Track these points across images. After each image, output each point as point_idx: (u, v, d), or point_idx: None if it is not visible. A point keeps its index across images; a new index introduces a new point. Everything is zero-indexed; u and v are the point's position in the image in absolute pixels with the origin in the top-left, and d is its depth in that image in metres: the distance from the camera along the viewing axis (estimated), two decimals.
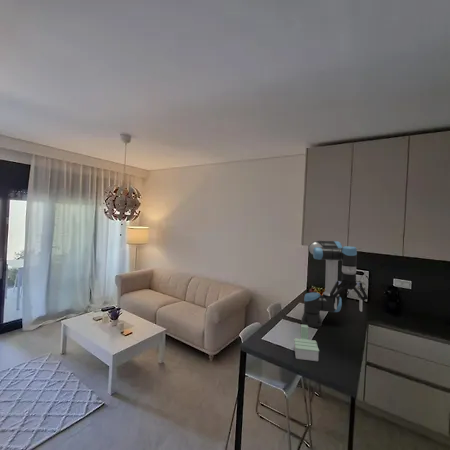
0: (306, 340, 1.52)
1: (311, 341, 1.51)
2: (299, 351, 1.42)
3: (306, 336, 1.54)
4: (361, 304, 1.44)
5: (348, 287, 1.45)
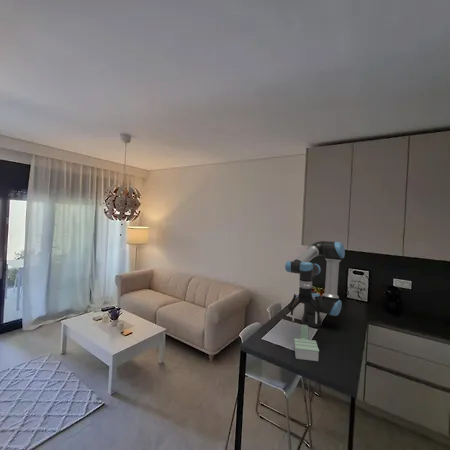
0: (306, 340, 1.52)
1: (311, 341, 1.51)
2: (299, 351, 1.42)
3: (306, 336, 1.54)
4: (316, 317, 1.54)
5: (304, 300, 1.55)
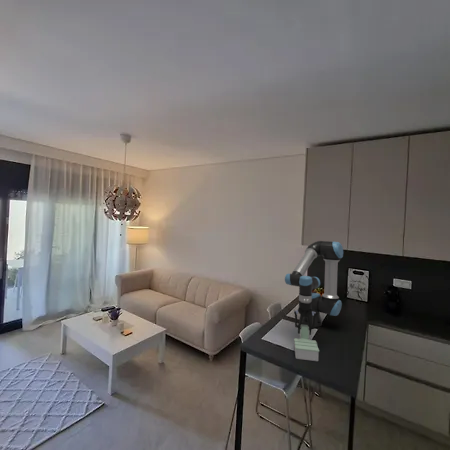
0: (306, 340, 1.52)
1: (311, 341, 1.51)
2: (299, 351, 1.42)
3: (306, 336, 1.54)
4: (308, 333, 1.55)
5: (304, 315, 1.55)
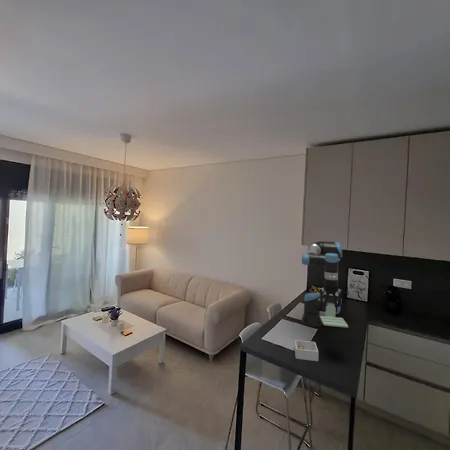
0: (333, 317, 1.50)
1: (338, 318, 1.49)
2: (299, 351, 1.42)
3: (332, 314, 1.52)
4: None
5: (330, 292, 1.53)
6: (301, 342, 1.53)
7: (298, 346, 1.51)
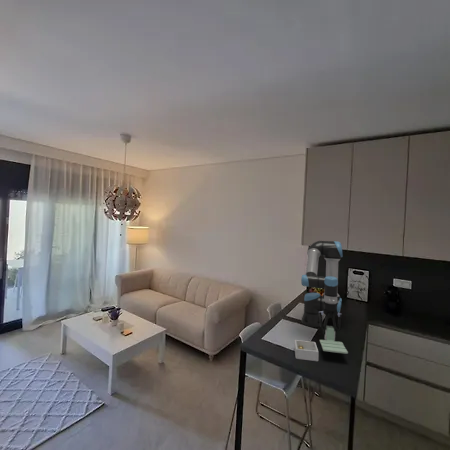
0: (332, 341, 1.50)
1: (337, 342, 1.49)
2: (299, 351, 1.42)
3: (332, 337, 1.52)
4: (334, 335, 1.53)
5: (330, 316, 1.53)
6: (301, 342, 1.53)
7: (298, 346, 1.51)
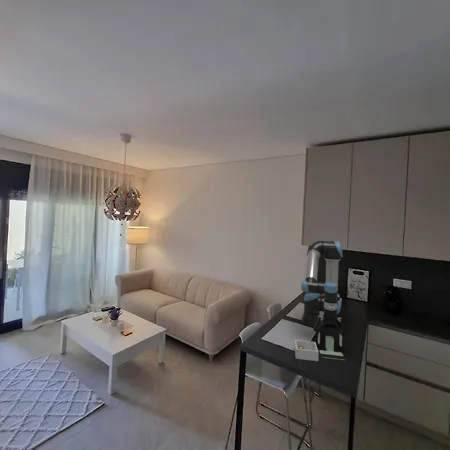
0: (332, 352, 1.50)
1: (337, 353, 1.49)
2: (299, 351, 1.42)
3: (331, 348, 1.52)
4: (341, 339, 1.52)
5: (329, 322, 1.54)
6: (301, 342, 1.53)
7: (298, 346, 1.51)
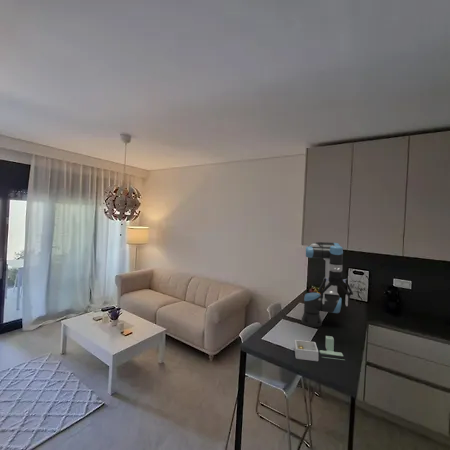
0: (332, 352, 1.50)
1: (337, 353, 1.49)
2: (299, 351, 1.42)
3: (331, 348, 1.52)
4: (347, 299, 1.56)
5: (335, 284, 1.57)
6: (301, 342, 1.53)
7: (298, 346, 1.51)
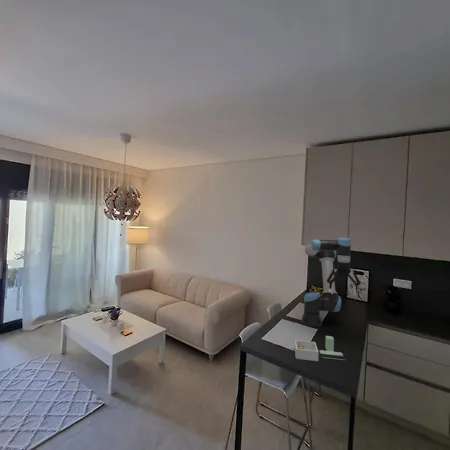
0: (332, 352, 1.50)
1: (337, 353, 1.49)
2: (299, 351, 1.42)
3: (331, 348, 1.52)
4: (354, 289, 1.62)
5: (343, 274, 1.64)
6: (301, 342, 1.53)
7: (298, 346, 1.51)
